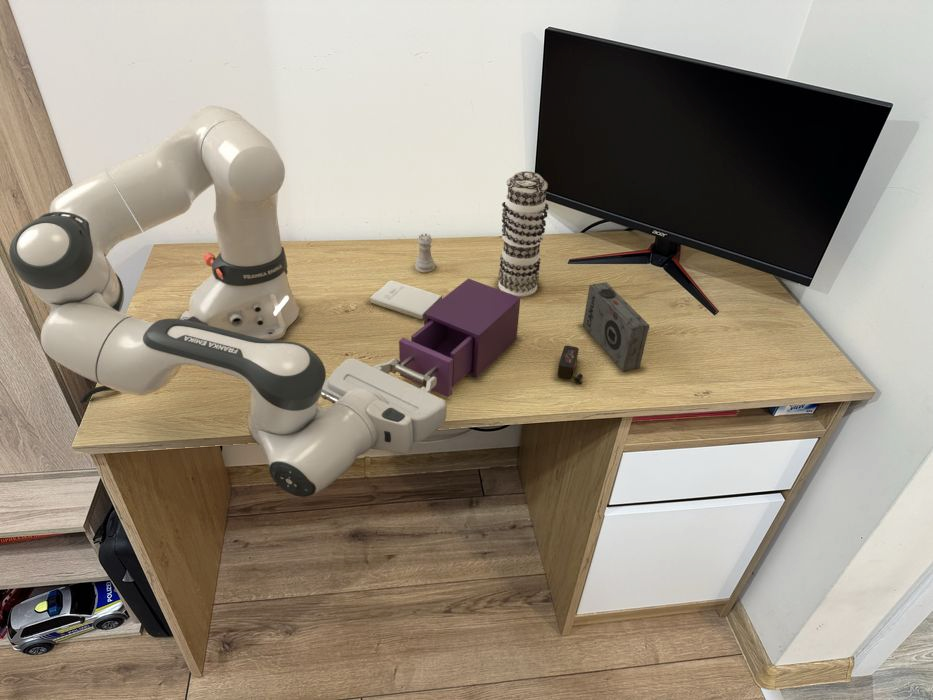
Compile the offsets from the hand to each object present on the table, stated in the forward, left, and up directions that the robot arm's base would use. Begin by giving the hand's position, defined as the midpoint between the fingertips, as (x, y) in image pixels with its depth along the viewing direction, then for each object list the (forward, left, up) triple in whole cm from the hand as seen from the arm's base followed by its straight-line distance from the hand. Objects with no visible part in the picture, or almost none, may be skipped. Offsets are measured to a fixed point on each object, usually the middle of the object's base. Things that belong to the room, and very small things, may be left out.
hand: (415, 370), depth 117 cm
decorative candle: (+37, +21, -6) cm, 43 cm away
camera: (+40, -5, -6) cm, 41 cm away
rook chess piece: (+23, +37, -6) cm, 44 cm away
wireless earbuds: (+28, -8, -6) cm, 30 cm away
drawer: (+6, +3, -5) cm, 9 cm away
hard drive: (+13, +27, -6) cm, 31 cm away
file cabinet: (+16, +8, -6) cm, 19 cm away
